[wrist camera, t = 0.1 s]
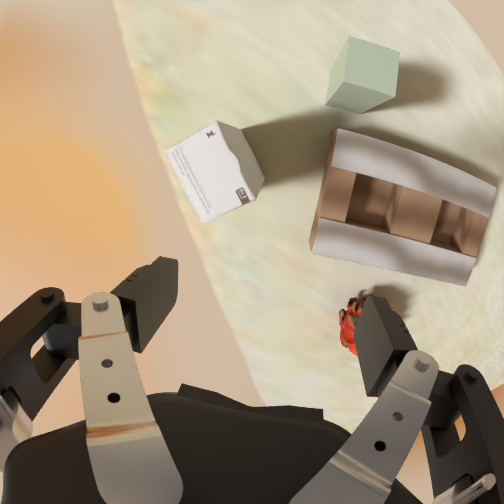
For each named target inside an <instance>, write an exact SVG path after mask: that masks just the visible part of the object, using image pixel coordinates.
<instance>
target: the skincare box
mask: <svg viewBox="0 0 504 504" xmlns="http://www.w3.org/2000/svg"><path fill="white" fill-rule="evenodd" d="M166 152H167V155H168V157H169V159H170V161H171V163H172V165H173V167H174V169H175V171H176V173H177V175H178V177H179V179H180V181H181V183H182V185H183V187H184V189H185V191H186V192H187V194H188V196H189V198H190V200H191V202H192V204H193V206H194V208H195V210H196V211H197V213H198V215H199V217H200V219H201V221H202V222H203V223H206V222H208V221H210V220H212V219H214V218H216V217H219V216H221V215H223V214H225V213H227V212H230V211H232V210H234V209H236V208H239V207H241V206H243V205H245V204H248V203H250V202H252V201H255V200H256V199H257V196H258V194H259V191H260V189H261V187H262V185H263V182H264V180H265V177H264V174H263V172H262V170H261V168H260V166H259V163H258V161H257V159H256V157H255V155H254V153H253V151H252V150H251V148H250V146H249V144H248V142H247V140H246V139H245V137H244V135H243V132H242V130H241V129H238V128H235V127H232V126H230V125H227V124H224V123H221V122H219V121H215V122H213V123H211V124H210V125H208V126H206V127H204V128H202V129H201V130H199V131H197V132H195V133H194V134H192V135H190V136H189V137H187V138H185V139H184V140H182V141H181V142H179V143H177V144H176V145H174V146H173V147H171V148H170V149H168V150H167V151H166Z"/></svg>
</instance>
